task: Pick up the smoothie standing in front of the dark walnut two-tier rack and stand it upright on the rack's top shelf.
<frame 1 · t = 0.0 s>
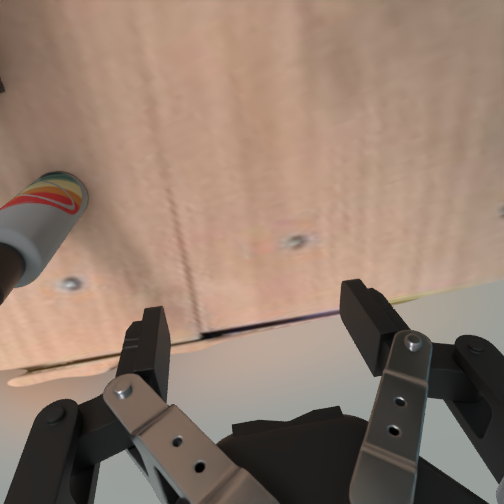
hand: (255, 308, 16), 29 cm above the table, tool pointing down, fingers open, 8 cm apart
lotion bottle: (63, 193, 41), on the table
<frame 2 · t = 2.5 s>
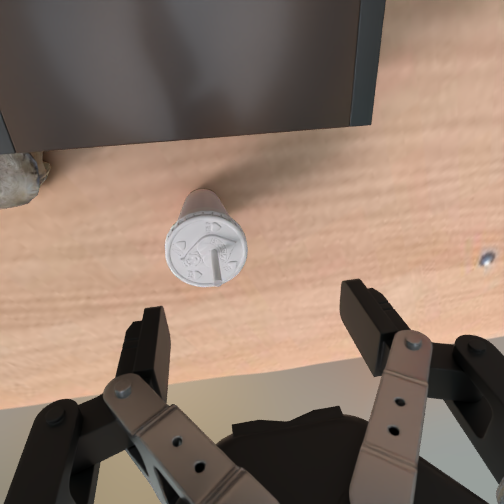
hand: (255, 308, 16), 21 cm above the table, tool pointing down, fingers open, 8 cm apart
smoothie: (202, 205, 35), on the table
rack: (181, 37, 28), on the table
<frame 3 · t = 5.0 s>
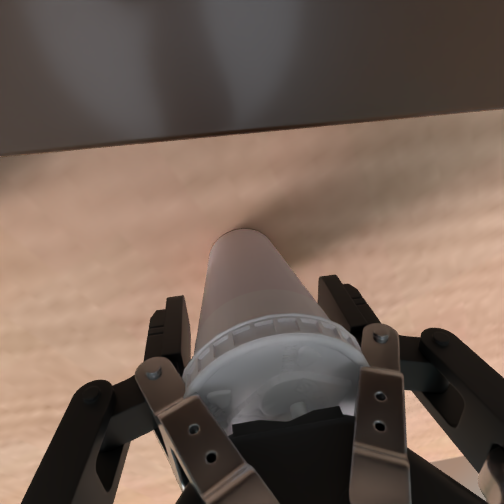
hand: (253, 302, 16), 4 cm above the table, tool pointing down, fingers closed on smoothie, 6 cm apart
smoothie: (241, 257, 20), on the table, touching gripper
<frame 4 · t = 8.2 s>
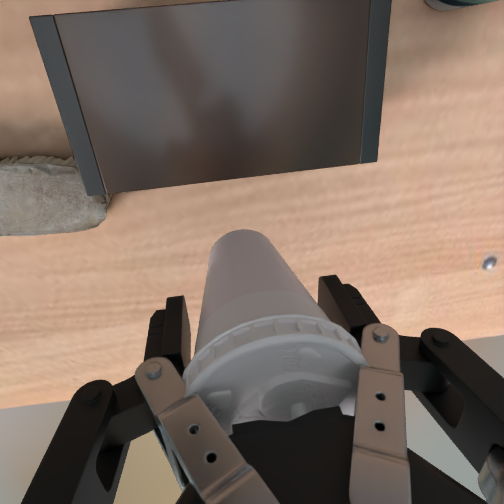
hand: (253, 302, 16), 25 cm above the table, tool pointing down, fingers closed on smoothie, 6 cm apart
smoothie: (241, 257, 20), point 21 cm above the table, touching gripper
rack: (219, 87, 34), on the table
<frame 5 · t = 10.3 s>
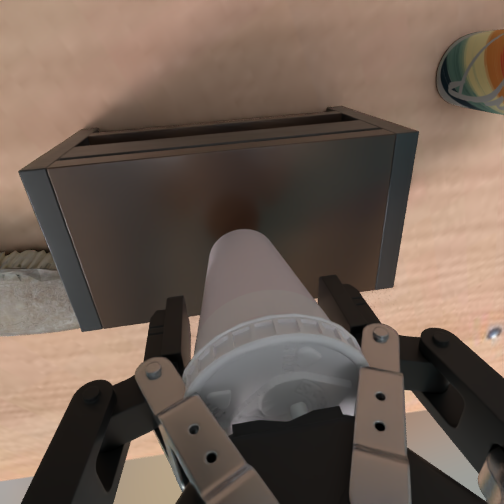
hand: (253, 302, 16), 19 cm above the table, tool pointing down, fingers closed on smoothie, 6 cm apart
lotion bottle: (463, 70, 31), on the table
smoothie: (241, 257, 20), point 14 cm above the table, touching gripper
rack: (223, 180, 32), on the table
when the fingers open (16 cm above the table, at t = 11.7 s): smoothie stays where it is, resting on rack.
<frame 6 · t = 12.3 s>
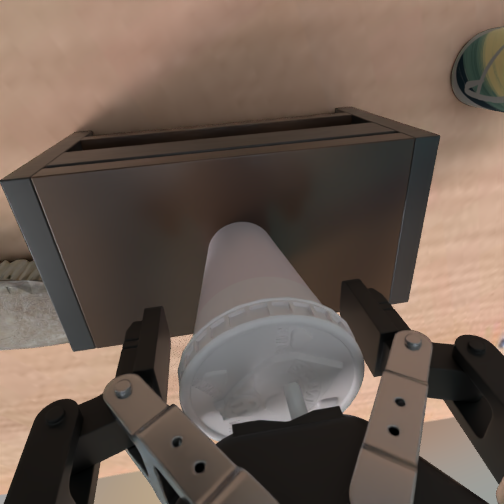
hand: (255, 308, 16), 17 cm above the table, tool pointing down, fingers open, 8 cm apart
lotion bottle: (480, 68, 29), on the table
smoothie: (240, 249, 20), point 12 cm above the table, touching rack
rack: (224, 185, 31), on the table
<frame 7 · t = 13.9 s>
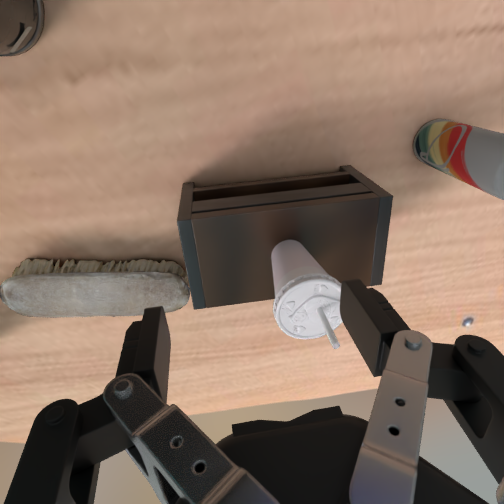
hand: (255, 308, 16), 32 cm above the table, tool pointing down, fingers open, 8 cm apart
lotion bottle: (432, 140, 46), on the table
smoothie: (287, 254, 38), point 12 cm above the table, touching rack
rack: (270, 213, 48), on the table
shoe brush: (105, 278, 50), on the table
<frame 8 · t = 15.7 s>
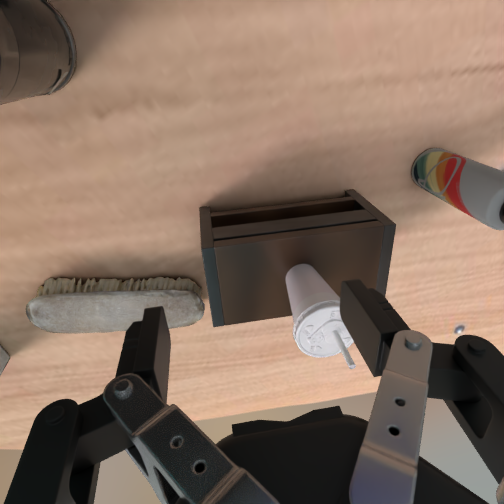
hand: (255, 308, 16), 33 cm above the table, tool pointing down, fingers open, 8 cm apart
lotion bottle: (428, 167, 50), on the table
smoothie: (300, 276, 41), point 12 cm above the table, touching rack
rack: (279, 233, 52), on the table
shoe brush: (123, 294, 53), on the table
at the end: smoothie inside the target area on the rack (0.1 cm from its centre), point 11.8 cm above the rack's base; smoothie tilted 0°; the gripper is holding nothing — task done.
